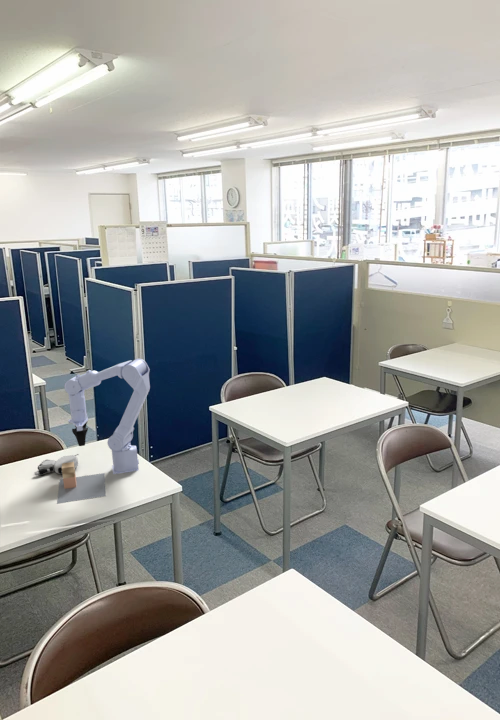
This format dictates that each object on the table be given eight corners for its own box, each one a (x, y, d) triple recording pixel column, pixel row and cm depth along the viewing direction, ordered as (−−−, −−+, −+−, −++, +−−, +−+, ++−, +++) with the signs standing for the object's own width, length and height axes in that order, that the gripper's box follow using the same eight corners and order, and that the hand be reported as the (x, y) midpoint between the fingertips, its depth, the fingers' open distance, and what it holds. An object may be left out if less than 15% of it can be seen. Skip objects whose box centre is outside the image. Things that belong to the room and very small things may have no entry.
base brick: (76, 481, 199) (75, 471, 198) (76, 487, 196) (74, 476, 195) (64, 483, 198) (63, 473, 197) (64, 488, 195) (63, 478, 194)
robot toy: (34, 482, 204) (75, 476, 204) (31, 471, 202) (72, 465, 203) (43, 467, 215) (82, 462, 216) (41, 456, 214) (80, 451, 215)
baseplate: (104, 474, 206) (104, 472, 206) (105, 497, 189) (105, 495, 189) (59, 481, 202) (59, 479, 202) (57, 505, 185) (56, 503, 185)
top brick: (75, 471, 198) (73, 461, 197) (74, 476, 195) (73, 466, 193) (63, 473, 197) (62, 463, 196) (63, 478, 194) (61, 468, 192)
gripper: (67, 403, 212) (71, 435, 216) (66, 416, 199) (70, 450, 202) (86, 401, 214) (90, 433, 217) (86, 413, 200) (90, 447, 204)
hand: (82, 441), depth 210 cm, fingers open, 7 cm apart
